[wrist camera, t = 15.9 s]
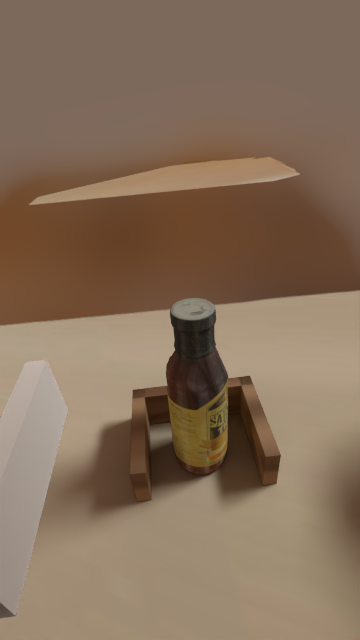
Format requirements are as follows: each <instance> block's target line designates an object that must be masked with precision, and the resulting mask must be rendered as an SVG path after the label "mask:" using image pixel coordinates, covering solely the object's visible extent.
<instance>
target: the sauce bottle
mask: <svg viewBox="0 0 360 640" xmlns="http://www.w3.org/2000/svg"><path fill="white" fill-rule="evenodd" d="M170 317H171V323H172V326H173V327H174V338H175V342H174V347H175V351H174V353H173V355H172V356H171V357H170V358H169V361H168V363H167V368H166V378H167V384H168V386H167V395H168V403H169V412H170V420H171V429H172V437H173V445H174V450H175V453H176V457H177V459H178V461H179V463H180V465H181V466H182V467H183V468H184V469H185V470H187V471H189V472H191V473H195V474H208V473H211V472H213V471H215V470H216V469H217V468H218V467H219V466H220V465H221V464H222V462H223V461H224V458H225V456H226V450H227V442H228V374H227V371H226V369H225V367H224V365H223V362H222V360H221V358H220V356H219V354H218V351H217V349H216V347H215V346H216V343H215V340H214V324H215V322H216V312H215V306H214V305H213V304H212V303H211V302H209V301H207V300H205V299H201V298H189V299H184V300H181V301H178V302H176V303H175V304H174V305H173V306H172V307H171V310H170Z"/></svg>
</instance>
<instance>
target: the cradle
mask: <svg viewBox="0 0 360 640" xmlns="http://www.w3.org/2000/svg"><path fill="white" fill-rule="evenodd" d="M236 413H240V414H241V417H242V420H243V423H244V427H245V430H246V433H247V436H248V440H249V443H250V446H251V449H252V452H253V456H254V459H255V462H256V465H257V468H258V472H259V475H260V478H261V481H262V484H263V485H268V484H276V483H277V476H278V470H279V463H280V456H281V455H280V452H279V449H278V447H277V444H276V442H275V439H274V437H273V434H272V431H271V429H270V426H269V424H268V421H267V419H266V416H265V413H264V411H263V408H262V406H261V403H260V401H259V398H258V395H257V393H256V390H255V388H254V385H253V383H252V380H251V377H250V376H245V377H236V378H228V414H236ZM163 422H171V420H170V412H169V403H168V395H167V386H162V387H153V388H145V389H137V390H133V401H132V428H131V455H130V477H131V481H132V484H133V488H134V492H135V495H136V499H137V502H139V501H147V500H151V457H150V424H155V423H163Z"/></svg>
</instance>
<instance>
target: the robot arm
mask: <svg viewBox="0 0 360 640" xmlns="http://www.w3.org/2000/svg"><path fill="white" fill-rule="evenodd" d="M67 411H68V409H67V407H66V404H65V402H64V400H63V397H62V395H61V393H60V390H59V388H58V385H57V383H56V381H55V378H54V376H53V374H52V371H51V369H50V367H49V364H48V362H47V360H40V361H32V362H26V363H25V365H24V367H23V370H22V372H21V374H20V376H19V378H18V381H17V383H16V385H15V387H14V389H13V392H12V394H11V396H10V398H9V400H8V403H7V405H6V407H5V409H4V411H3V414H2V416H1V418H0V618H5V617H12V616H16V614H17V610H18V606H19V602H20V598H21V594H22V590H23V586H24V582H25V578H26V574H27V570H28V566H29V562H30V558H31V554H32V550H33V546H34V542H35V538H36V534H37V530H38V526H39V522H40V518H41V514H42V510H43V506H44V502H45V498H46V494H47V490H48V486H49V482H50V479H51V475H52V471H53V467H54V463H55V459H56V455H57V451H58V447H59V443H60V439H61V435H62V431H63V427H64V423H65V419H66V415H67Z"/></svg>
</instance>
